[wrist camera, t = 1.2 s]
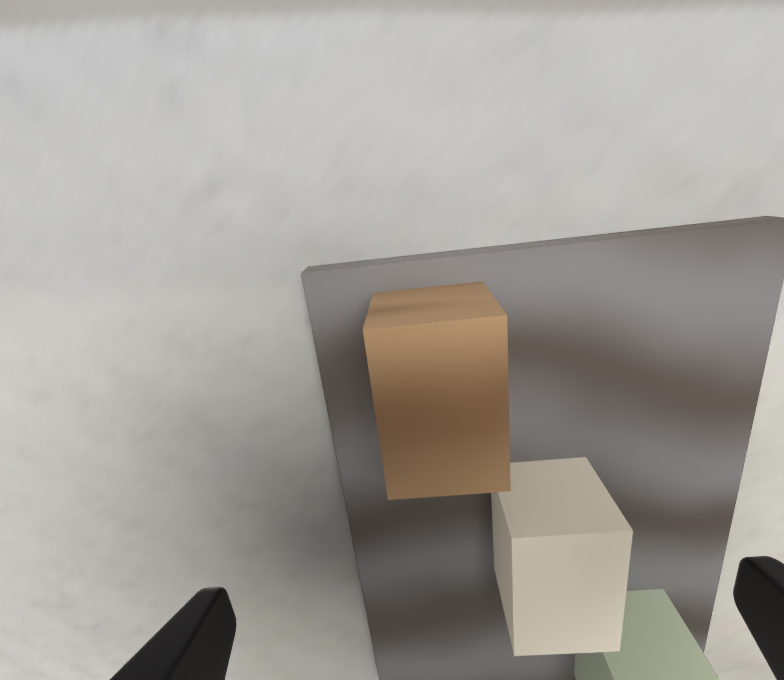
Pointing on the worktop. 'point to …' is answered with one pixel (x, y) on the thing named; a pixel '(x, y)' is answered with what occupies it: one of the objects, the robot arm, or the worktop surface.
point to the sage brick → (648, 645)
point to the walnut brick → (440, 390)
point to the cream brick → (560, 559)
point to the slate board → (562, 422)
